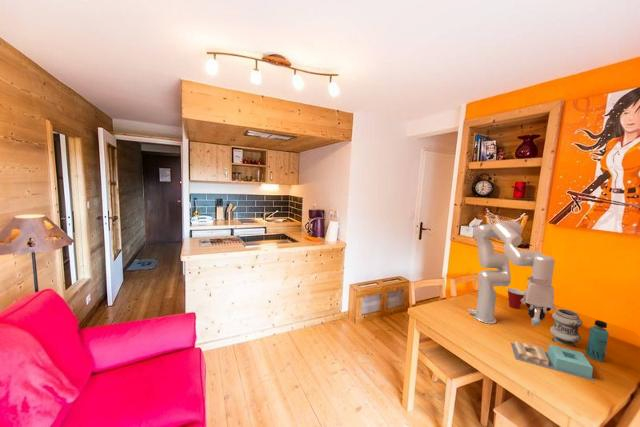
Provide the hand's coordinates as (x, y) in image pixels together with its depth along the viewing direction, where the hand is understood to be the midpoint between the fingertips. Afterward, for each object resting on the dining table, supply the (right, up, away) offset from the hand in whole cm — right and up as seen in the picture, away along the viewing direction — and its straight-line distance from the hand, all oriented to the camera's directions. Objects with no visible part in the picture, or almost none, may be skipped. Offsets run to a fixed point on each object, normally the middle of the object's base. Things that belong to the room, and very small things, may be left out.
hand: (536, 317), depth 126 cm
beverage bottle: (+31, -22, +3) cm, 38 cm away
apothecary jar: (+28, -20, +16) cm, 38 cm away
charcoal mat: (+5, -21, -1) cm, 22 cm away
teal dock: (+12, -21, -4) cm, 24 cm away
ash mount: (-1, -19, +2) cm, 20 cm away
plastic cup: (+32, -15, +57) cm, 67 cm away
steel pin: (0, -3, 0) cm, 3 cm away
